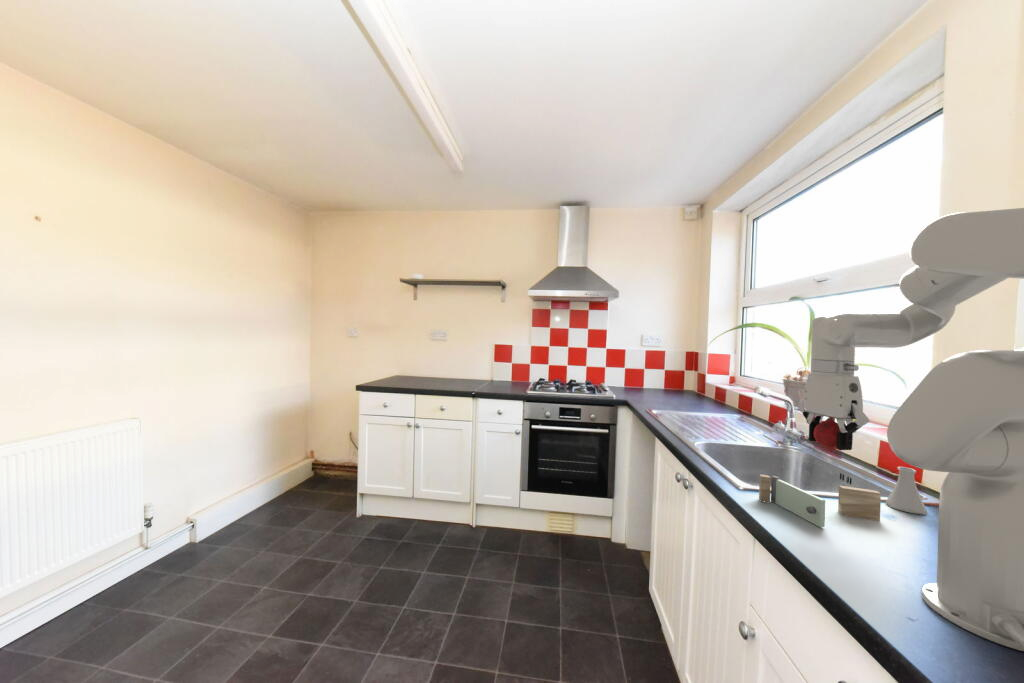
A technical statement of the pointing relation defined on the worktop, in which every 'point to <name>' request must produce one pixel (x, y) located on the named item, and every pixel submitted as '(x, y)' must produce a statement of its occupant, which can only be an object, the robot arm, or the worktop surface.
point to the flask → (906, 493)
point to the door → (798, 501)
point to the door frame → (841, 500)
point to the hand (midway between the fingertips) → (829, 444)
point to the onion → (827, 434)
